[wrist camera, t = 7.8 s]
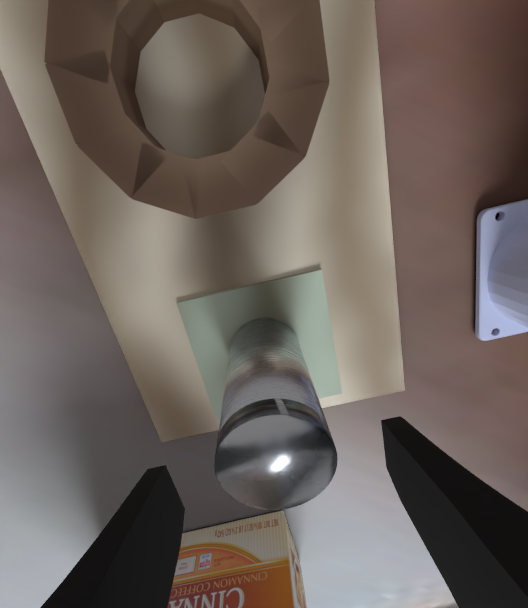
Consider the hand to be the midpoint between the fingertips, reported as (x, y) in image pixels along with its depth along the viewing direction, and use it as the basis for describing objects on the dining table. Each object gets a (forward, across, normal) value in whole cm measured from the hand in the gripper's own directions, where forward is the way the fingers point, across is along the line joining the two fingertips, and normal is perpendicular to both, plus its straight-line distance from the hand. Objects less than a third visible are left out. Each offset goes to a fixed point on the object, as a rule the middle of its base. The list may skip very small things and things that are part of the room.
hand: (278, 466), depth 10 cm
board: (+9, 0, -7) cm, 12 cm away
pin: (+8, 0, 0) cm, 8 cm away
